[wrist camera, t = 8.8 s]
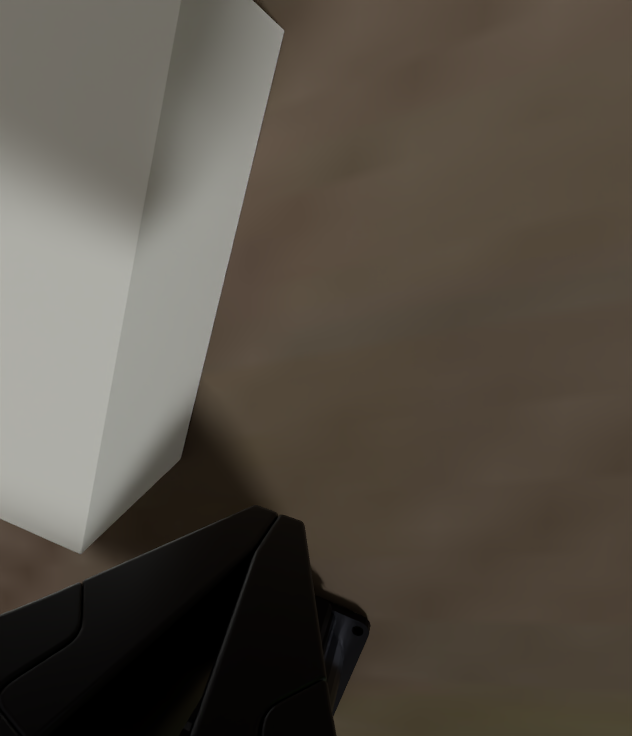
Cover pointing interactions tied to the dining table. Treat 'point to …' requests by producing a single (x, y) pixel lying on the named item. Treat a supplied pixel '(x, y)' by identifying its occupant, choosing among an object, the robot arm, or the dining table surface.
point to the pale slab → (115, 238)
